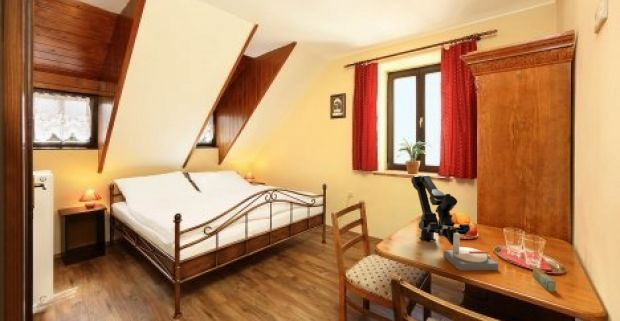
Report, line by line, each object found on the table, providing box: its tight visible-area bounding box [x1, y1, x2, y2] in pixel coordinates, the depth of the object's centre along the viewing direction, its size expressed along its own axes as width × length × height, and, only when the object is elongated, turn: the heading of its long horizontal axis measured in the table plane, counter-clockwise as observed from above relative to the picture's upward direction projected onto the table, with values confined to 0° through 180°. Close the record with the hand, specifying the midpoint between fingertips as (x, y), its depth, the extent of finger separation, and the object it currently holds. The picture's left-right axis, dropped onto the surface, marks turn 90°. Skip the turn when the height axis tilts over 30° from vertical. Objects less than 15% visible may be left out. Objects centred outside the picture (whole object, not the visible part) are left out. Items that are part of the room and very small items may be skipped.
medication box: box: [532, 268, 557, 293], centre depth 112 cm, size 12×3×4 cm, turn 164°
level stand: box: [443, 249, 499, 271], centre depth 131 cm, size 17×15×4 cm
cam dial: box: [452, 233, 489, 263], centre depth 131 cm, size 16×14×11 cm
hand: (452, 245), depth 132 cm, fingers closed, pressing on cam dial
